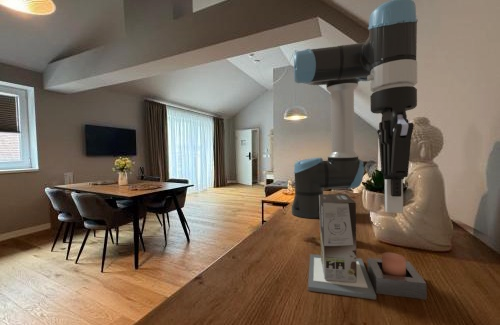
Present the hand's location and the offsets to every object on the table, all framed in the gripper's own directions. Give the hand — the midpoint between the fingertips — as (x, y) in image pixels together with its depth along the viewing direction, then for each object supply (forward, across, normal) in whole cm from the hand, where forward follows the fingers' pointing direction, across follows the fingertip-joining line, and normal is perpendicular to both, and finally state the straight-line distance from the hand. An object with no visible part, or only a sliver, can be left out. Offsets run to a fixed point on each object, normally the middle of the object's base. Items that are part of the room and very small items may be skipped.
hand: (393, 211), depth 44 cm
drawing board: (+15, -1, -10) cm, 18 cm away
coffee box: (+14, -2, -11) cm, 18 cm away
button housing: (+15, 0, 0) cm, 15 cm away
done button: (+13, 0, 0) cm, 13 cm away
